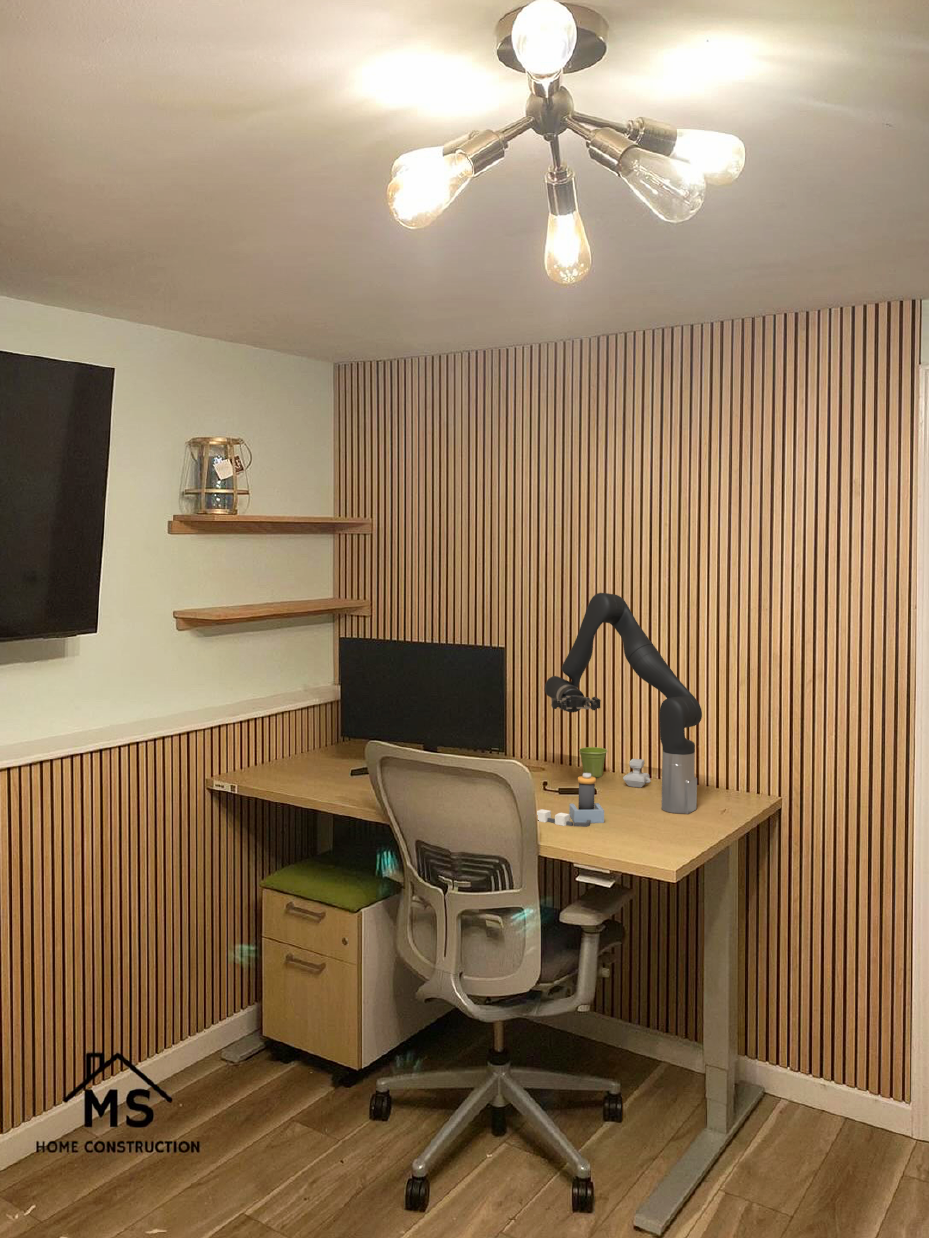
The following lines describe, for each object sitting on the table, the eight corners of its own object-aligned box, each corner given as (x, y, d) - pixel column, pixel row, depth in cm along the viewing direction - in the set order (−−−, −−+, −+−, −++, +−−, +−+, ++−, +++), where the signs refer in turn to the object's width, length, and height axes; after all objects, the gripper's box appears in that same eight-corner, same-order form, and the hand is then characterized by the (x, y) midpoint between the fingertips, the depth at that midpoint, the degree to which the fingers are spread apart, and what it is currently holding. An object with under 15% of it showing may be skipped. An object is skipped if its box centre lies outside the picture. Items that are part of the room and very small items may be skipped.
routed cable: (593, 823, 281) (593, 814, 281) (581, 829, 275) (581, 820, 275) (547, 814, 290) (547, 805, 289) (534, 820, 284) (534, 811, 284)
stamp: (620, 787, 321) (620, 760, 321) (625, 782, 327) (626, 756, 327) (647, 790, 318) (648, 763, 317) (653, 785, 324) (653, 759, 323)
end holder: (569, 814, 290) (569, 802, 289) (597, 814, 290) (598, 802, 290) (574, 823, 281) (574, 810, 281) (604, 822, 282) (604, 810, 282)
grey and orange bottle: (598, 816, 286) (599, 773, 285) (589, 820, 282) (590, 776, 281) (582, 813, 289) (583, 770, 288) (573, 817, 285) (574, 773, 284)
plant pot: (598, 780, 330) (598, 754, 329) (573, 776, 335) (573, 750, 335) (612, 775, 337) (612, 749, 336) (587, 770, 343) (587, 745, 342)
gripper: (547, 686, 309) (555, 694, 293) (593, 685, 311) (604, 694, 294) (547, 710, 310) (555, 720, 294) (592, 709, 311) (603, 719, 295)
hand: (579, 707), depth 294 cm, fingers open, 8 cm apart
